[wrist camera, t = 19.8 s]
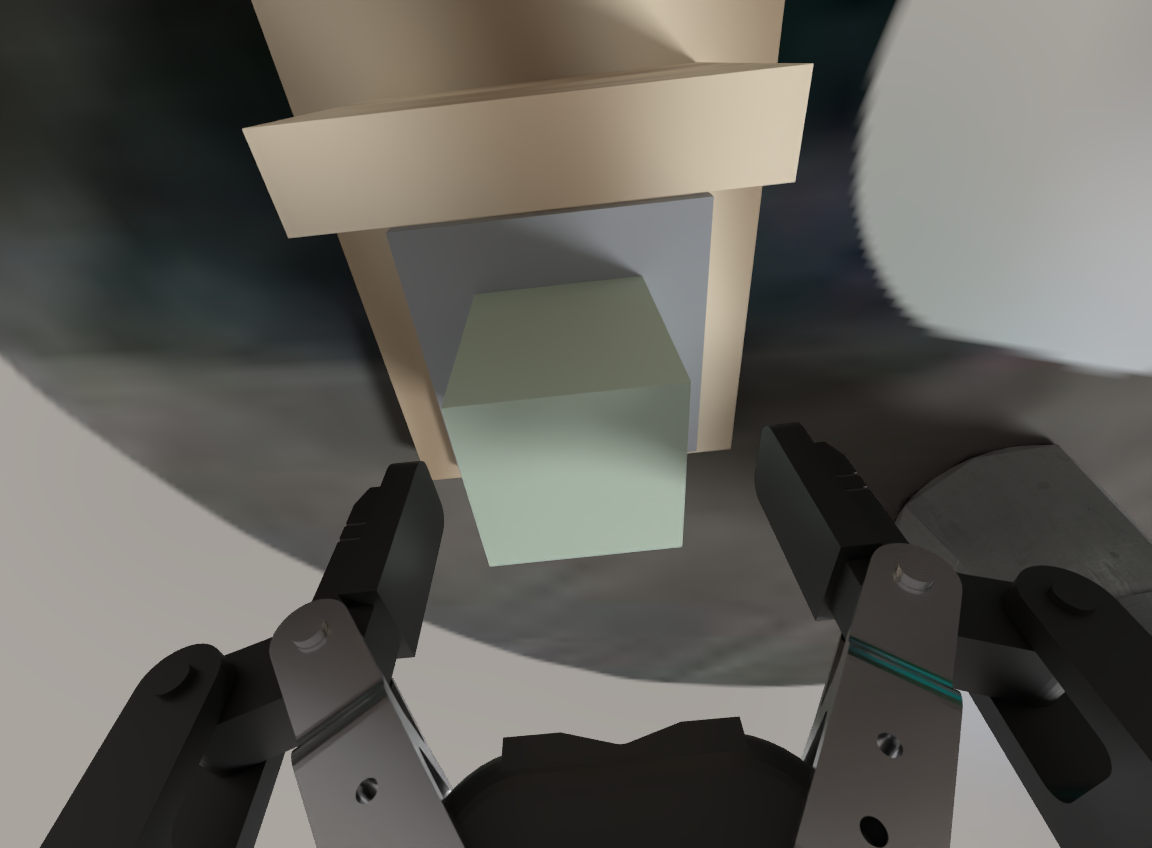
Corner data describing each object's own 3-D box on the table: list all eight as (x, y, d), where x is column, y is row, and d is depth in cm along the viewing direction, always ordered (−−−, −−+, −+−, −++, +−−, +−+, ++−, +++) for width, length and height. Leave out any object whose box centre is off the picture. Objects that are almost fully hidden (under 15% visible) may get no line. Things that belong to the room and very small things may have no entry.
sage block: (642, 275, 15) (691, 382, 10) (644, 413, 18) (682, 546, 13) (474, 294, 15) (440, 408, 10) (504, 427, 18) (489, 566, 13)
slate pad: (709, 192, 14) (713, 196, 13) (693, 442, 19) (696, 450, 19) (389, 227, 14) (385, 232, 14) (462, 467, 19) (461, 475, 19)
